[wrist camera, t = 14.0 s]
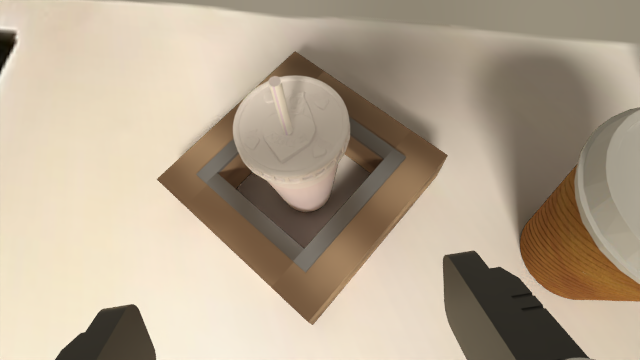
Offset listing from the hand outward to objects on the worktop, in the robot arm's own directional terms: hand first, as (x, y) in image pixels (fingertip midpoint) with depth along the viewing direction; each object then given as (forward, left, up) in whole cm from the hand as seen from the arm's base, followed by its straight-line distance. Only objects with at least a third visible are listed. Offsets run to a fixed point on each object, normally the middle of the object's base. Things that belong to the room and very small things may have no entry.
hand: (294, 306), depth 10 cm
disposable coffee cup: (-15, +9, -17) cm, 25 cm away
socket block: (-7, -8, -17) cm, 20 cm away
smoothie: (-7, -8, -17) cm, 20 cm away
